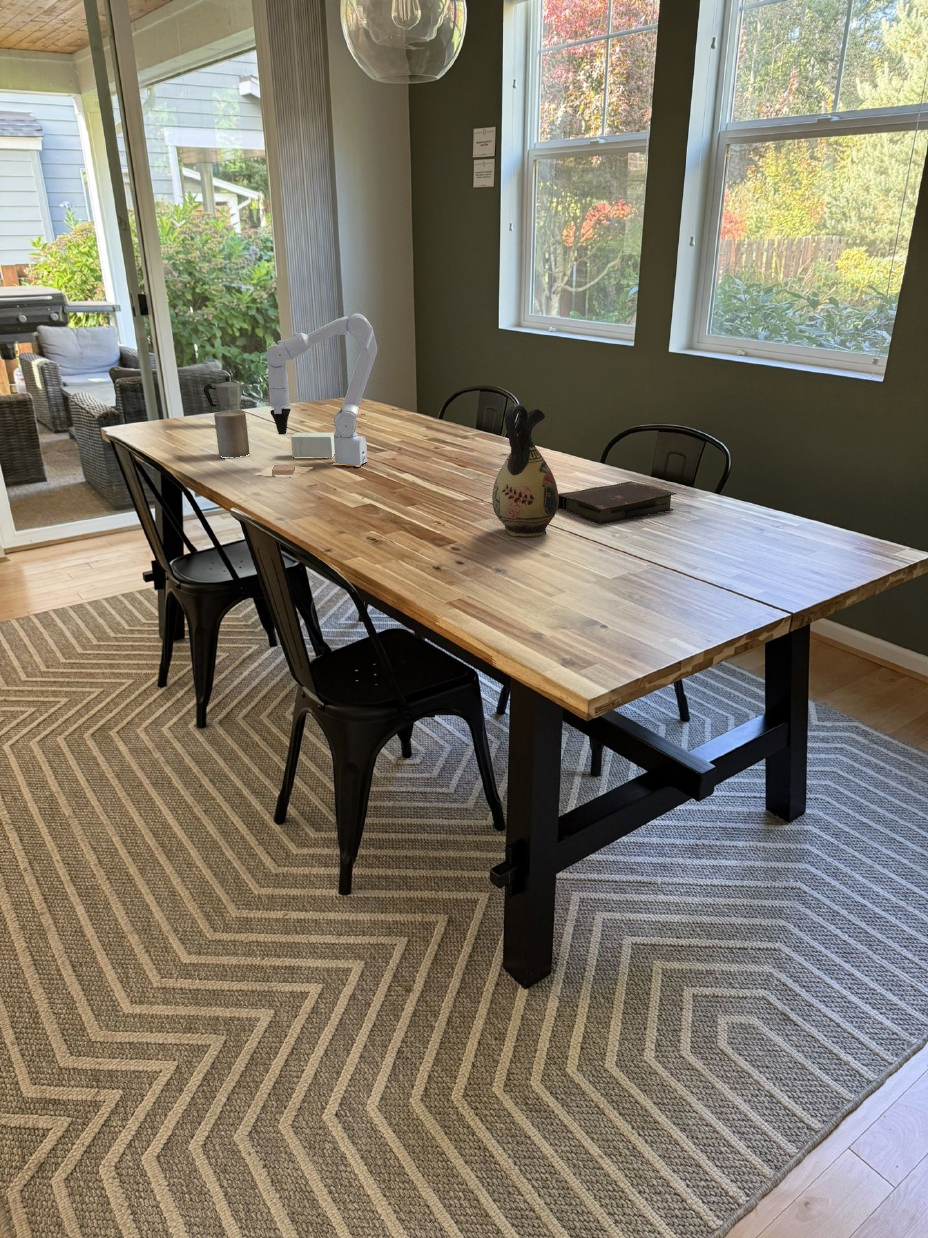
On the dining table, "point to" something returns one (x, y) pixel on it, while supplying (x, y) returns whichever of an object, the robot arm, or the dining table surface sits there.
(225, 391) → the coffeepot
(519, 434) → the ceramic jug
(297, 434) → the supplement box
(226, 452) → the pillar candle
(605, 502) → the diary
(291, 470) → the terracotta tile
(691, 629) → the dining table surface
